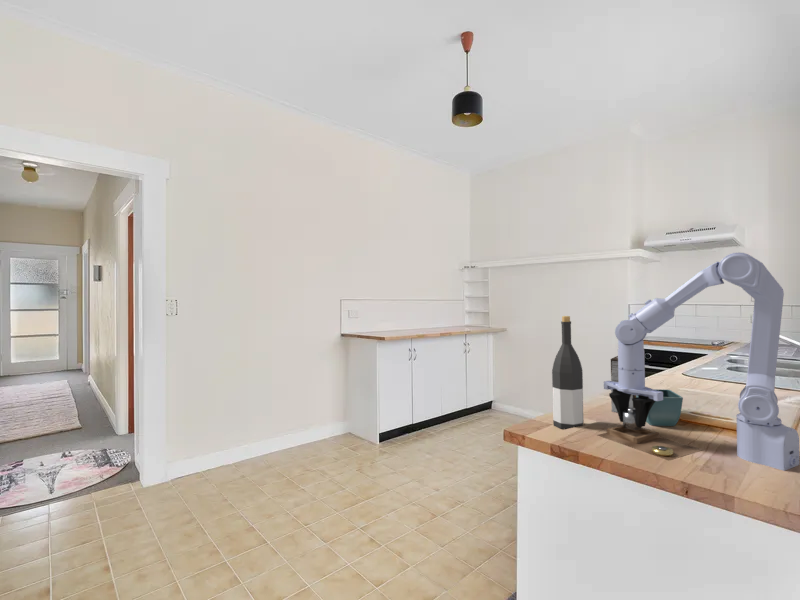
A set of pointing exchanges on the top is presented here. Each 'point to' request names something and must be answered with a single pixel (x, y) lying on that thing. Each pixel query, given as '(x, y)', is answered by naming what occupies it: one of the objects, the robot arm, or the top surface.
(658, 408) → the flower pot
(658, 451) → the brass domed disc
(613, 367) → the coffee box
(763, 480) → the top surface
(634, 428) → the silver knobbed cylinder
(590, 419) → the top surface
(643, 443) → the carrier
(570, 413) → the wine bottle
